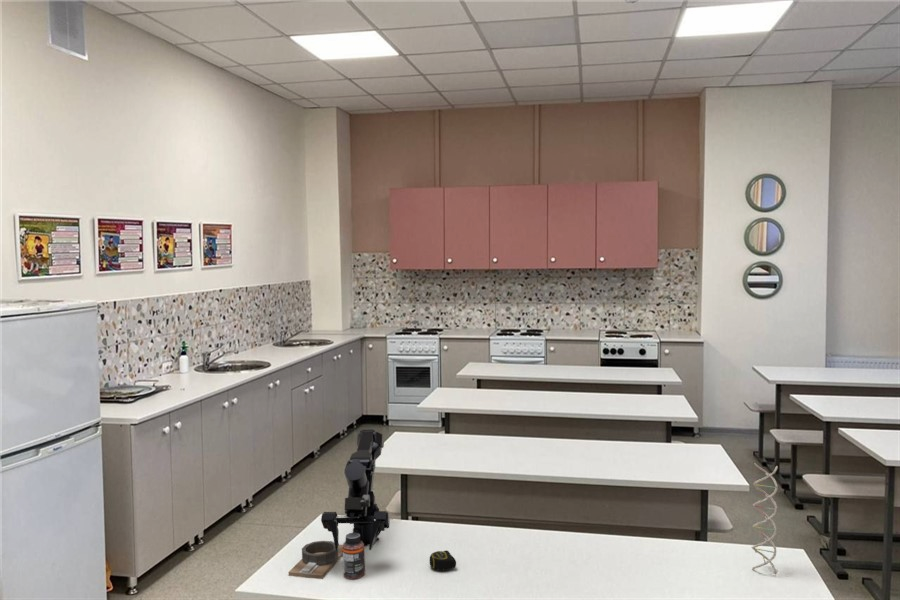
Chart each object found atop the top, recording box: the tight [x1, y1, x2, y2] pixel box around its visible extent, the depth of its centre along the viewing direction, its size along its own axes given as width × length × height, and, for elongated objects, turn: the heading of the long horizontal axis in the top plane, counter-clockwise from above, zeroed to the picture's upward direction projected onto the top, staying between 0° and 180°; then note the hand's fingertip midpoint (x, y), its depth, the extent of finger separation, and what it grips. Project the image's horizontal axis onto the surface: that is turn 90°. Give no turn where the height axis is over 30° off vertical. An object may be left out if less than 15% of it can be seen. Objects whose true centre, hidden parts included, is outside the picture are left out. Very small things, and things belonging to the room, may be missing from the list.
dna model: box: [751, 462, 779, 574], centre depth 192 cm, size 7×6×30 cm
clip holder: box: [288, 540, 343, 580], centre depth 203 cm, size 20×10×4 cm, turn 167°
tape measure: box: [429, 550, 457, 571], centre depth 198 cm, size 7×7×4 cm
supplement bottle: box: [342, 532, 366, 580], centre depth 194 cm, size 6×6×11 cm
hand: (353, 549), depth 194 cm, fingers open, 9 cm apart
